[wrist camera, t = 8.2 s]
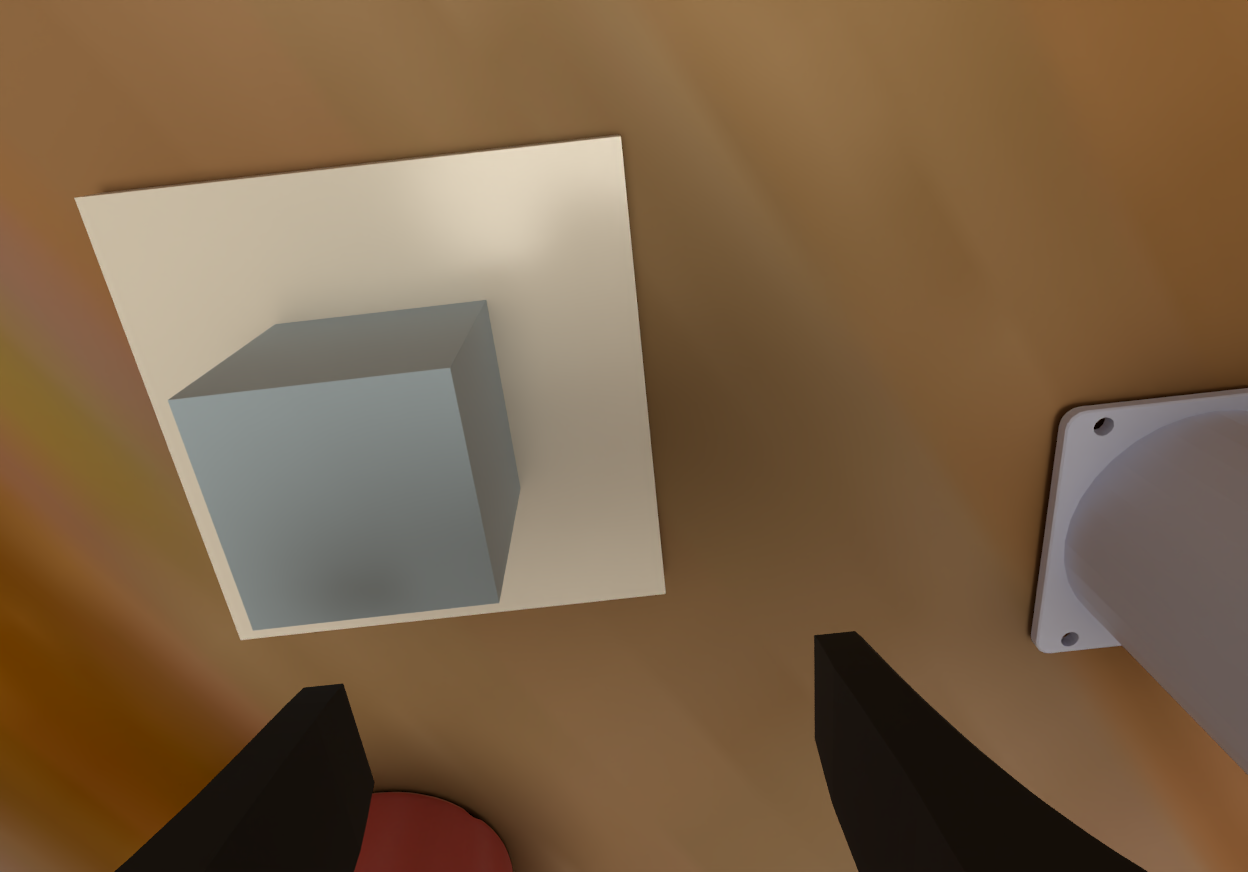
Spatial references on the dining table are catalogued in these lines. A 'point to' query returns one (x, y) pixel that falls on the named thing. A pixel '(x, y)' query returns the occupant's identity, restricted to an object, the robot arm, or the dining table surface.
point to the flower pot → (427, 837)
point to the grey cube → (358, 465)
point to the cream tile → (413, 278)
